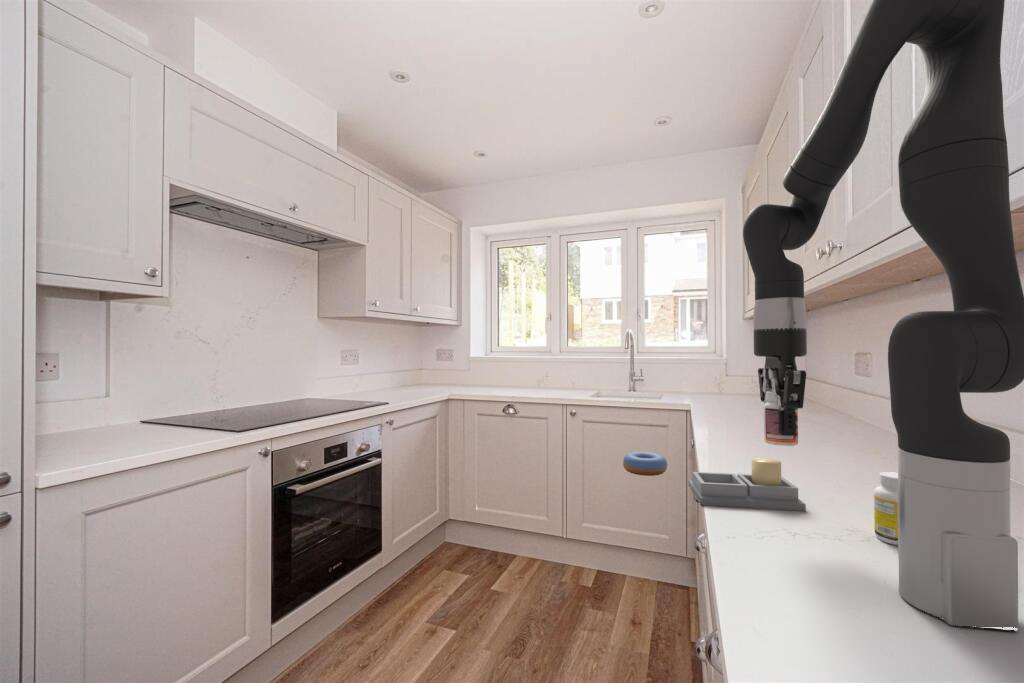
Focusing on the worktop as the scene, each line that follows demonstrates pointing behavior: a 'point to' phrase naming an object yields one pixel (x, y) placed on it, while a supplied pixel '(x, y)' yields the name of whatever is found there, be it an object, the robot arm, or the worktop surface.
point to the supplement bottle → (886, 508)
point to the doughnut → (645, 463)
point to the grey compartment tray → (748, 488)
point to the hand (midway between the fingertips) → (780, 431)
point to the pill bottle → (776, 424)
